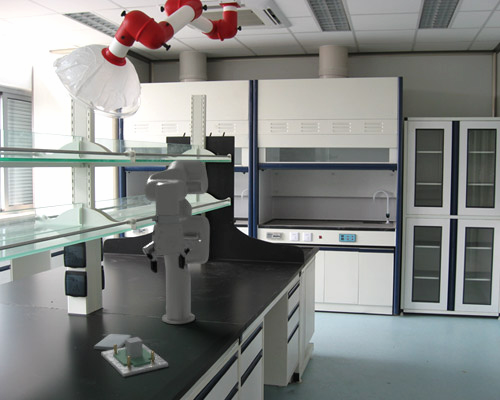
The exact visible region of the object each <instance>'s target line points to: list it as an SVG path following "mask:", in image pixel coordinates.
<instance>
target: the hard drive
mask: <svg viewBox="0 0 500 400" xmlns="http://www.w3.org/2000/svg"><path fill="white" fill-rule="evenodd" d="M129 338H132V335H130V334H119V333H109V334H108V335H107V336H105V337H104V338H102V339H101V340H100V341H99V342H98V343H96V344H95V345H93V350H101V351H102V350H104V351H109V350H113V349H114V344H117V349H118V348H123V346H124V345H125V339H129Z"/></svg>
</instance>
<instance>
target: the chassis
mask: <svg viewBox="0 0 500 400" xmlns="http://www.w3.org/2000/svg"><path fill="white" fill-rule="evenodd" d="M142 348H144V349H145V350H147V351H148V352H149V353H151V360H150V361H151V363H149V364H144V365H140V366H136V367H134V366H133V365H132V364H131V357H130V356H127V365H126V366H124V365H122V364H121V363H120V362H119V361H118V360H117V359H116V358H115V357H114V356H113V354H117V353H118V350H122V349H125V346H124V347H123V346H122V347H121V348H118V349H117V344H114V349H113V350H104V351H101V353H100V354H101V356H102V357H103V358H104V359H105V360H106V361H107V362H108V364H110V365H111V366H112V367H113V368H114V369H115V370H116V371H117V372H118V373H119V375H121V376H122V377H123V378H125V377H129V376H134V375H138V374H142V373H146V372H151V371H155V370H158V369H162V368H167V367H169V362H167V361H166V360H164V358H162V357H161V356H159V355H158V354H157V353H156V352H155V350H152V349H150V348H149V347H148V346H146V345H145V344H144V343H142ZM154 356H155V359H154Z"/></svg>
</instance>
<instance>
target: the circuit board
mask: <svg viewBox="0 0 500 400" xmlns="http://www.w3.org/2000/svg"><path fill="white" fill-rule="evenodd" d="M142 344H143V340H142V339H141V338H140V337H139V336H135V337H131V338H129V339H125V344H124V345H125V346H124V347H125V349H122V350H118V353H117V354H113V356H114V357H115V358H116V359H117V360H118V361H119V362H120V363H121V364H122V365H124V366H126V365H127V356H130V357H131V364H132V365H133V366H134V367H136V366H140V365H144V364H149V363H151V361H150V360H151V353H149V352H148V351H147V350H145V349H144V348H142ZM154 359H155V356H154Z"/></svg>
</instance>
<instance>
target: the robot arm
mask: <svg viewBox="0 0 500 400" xmlns="http://www.w3.org/2000/svg"><path fill="white" fill-rule="evenodd" d="M208 188H209V179H208V174H207V169H206V165H205V164H204V162H203V161H202V160H200V159H176V160H174V161H172V162H171V163H169V165H168V167H167V169H165V170H162V171H158V172H156V173H153V174H151V175H150V176H149V177H148V179H147V180H146V183H145V185H144V194H145V197H146V199H147V200H148V201H150V202H155V215H154V216H152V218H151V221H152V222H155V223H154V224H153V228H152V237H151V242H149V243H148V244H147V245H145V246H144V247H142V251H143V253H144V255H145V256H146V258H148V259H149V260H150V271H151V272H153V273H154V274H157V273H158V261H157V259H158V258H159V256H163V259H164V265H165V266H164V267H165V308H164V309H165V314H164V315H162V317H161V320H162V322H164V323H166V324H170V325H171V324H172V325H182V324H187V323H188V324H189V323H191V322H193V321H195V317H196V316H195V315H194V314H193V313H192V312H191V309H192V305H191V304H192V303H191V300H192V297H191V292H192V291H191V290H192V289H191V287H192V286H191V282H192V281H191V273H190V271H189V269H188V268H187V267H186V265H200V264H201V265H202V264H205V263H207V262H208V260H209V257H210V255H209V254H210V237H211V236H210V235H211V234H210V233H211V232H210V231H211V230H210V229H211V227H210V222H209V219H208V218H207V217H206V216H204V215H192V214H193V205H191V203H190V201H188V200H187V198H186V197H187V195H204V194H206V192H208ZM150 250H151V253H150V252H149V251H150Z"/></svg>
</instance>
